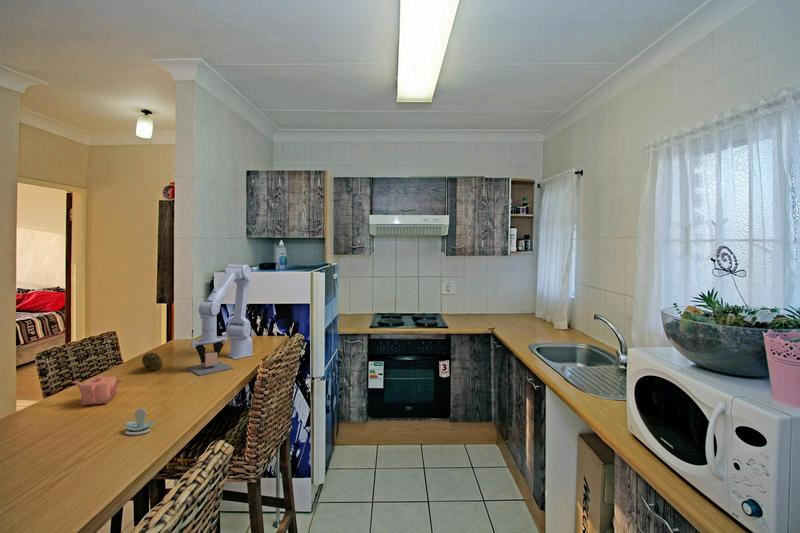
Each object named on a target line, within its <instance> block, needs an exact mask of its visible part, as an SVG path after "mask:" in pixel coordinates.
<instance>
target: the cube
mask: <svg viewBox="0 0 800 533" xmlns="http://www.w3.org/2000/svg"><path fill="white" fill-rule="evenodd" d="M218 361H219V357H218V353H217V352H214V350H211V351H210V350H209V351H205V363H202V362H201V361H200V364H201V365H203V366H205V367H207V366H212V365H217V364H218Z"/></svg>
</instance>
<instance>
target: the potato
mask: <svg viewBox="0 0 800 533" xmlns="http://www.w3.org/2000/svg"><path fill="white" fill-rule="evenodd" d="M141 362H142V364H143V367H144V368H145V369H150V370H159V369H160V368H162V366H163V360H162V357H161V356H160V354H158V353H157V352H148V353H146V354H144V355H143V356H142V358H141Z"/></svg>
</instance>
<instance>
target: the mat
mask: <svg viewBox="0 0 800 533" xmlns="http://www.w3.org/2000/svg"><path fill="white" fill-rule="evenodd" d="M233 369H234V366H231V365H228V364H226V363H224V362H222V361H220V360H218V364H217V365H212V366H207V367H205V366H203V365H201V363H200V364H196V365H191V366H186V367H185V370H187V371H190V372H191V373H192V374H195V375H197V376H198V377H203V376H206V375H211V374H216V373H220V372H225V371H230V370H233Z"/></svg>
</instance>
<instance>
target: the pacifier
mask: <svg viewBox="0 0 800 533" xmlns="http://www.w3.org/2000/svg"><path fill="white" fill-rule="evenodd" d="M146 417H147V411H146V409H145V408H143V407H141V408H138V409H136V411H135V412H134V418H135V420H136V421H127V422H126V423H125V427H126V430H125V431H124V434H126V435H127V436H140V435H144V434H147V433H149V432H150V431H151V429H150V428H149V427H150V426H152V425H154V423H155V421H156V420H155V419H154V420H152V421H149V422H145V421H146V419H145V418H146Z"/></svg>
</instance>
